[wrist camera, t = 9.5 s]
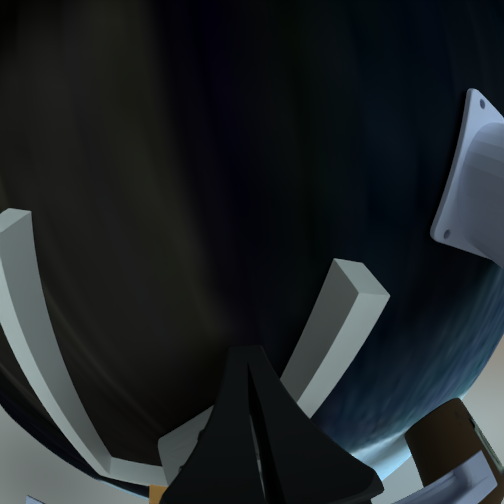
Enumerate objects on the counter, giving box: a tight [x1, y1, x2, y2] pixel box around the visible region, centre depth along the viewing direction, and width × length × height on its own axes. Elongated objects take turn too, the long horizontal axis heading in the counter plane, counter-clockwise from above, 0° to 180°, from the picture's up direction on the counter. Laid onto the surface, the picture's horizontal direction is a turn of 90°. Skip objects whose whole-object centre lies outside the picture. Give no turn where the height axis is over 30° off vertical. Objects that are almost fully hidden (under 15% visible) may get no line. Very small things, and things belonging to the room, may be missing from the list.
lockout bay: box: [0, 208, 390, 504], centre depth 13 cm, size 16×29×6 cm, turn 167°
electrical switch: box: [158, 405, 265, 496], centre depth 13 cm, size 9×5×9 cm, turn 139°
